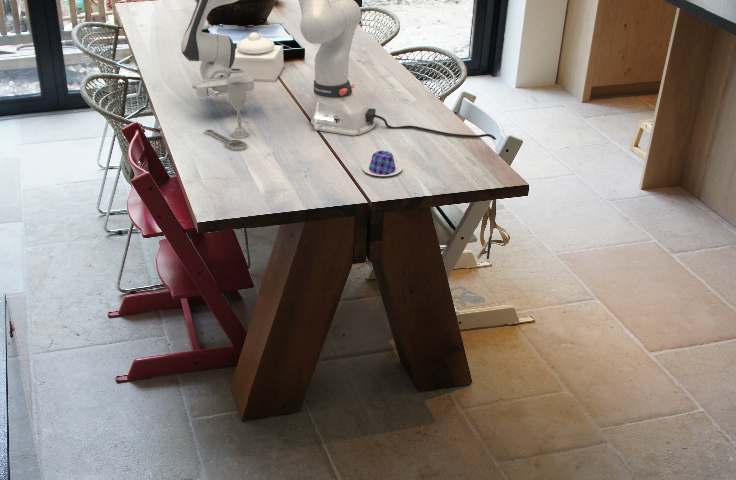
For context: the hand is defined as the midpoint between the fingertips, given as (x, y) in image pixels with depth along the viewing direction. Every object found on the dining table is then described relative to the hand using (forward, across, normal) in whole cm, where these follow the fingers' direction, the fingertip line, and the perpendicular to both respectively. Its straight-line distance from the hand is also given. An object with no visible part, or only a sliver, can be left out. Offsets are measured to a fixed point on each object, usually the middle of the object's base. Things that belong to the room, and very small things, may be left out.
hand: (229, 92), depth 283 cm
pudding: (+54, +33, +11) cm, 64 cm away
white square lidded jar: (-51, +24, +11) cm, 57 cm away
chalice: (+10, 0, +11) cm, 15 cm away
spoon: (+13, -6, +11) cm, 18 cm away
